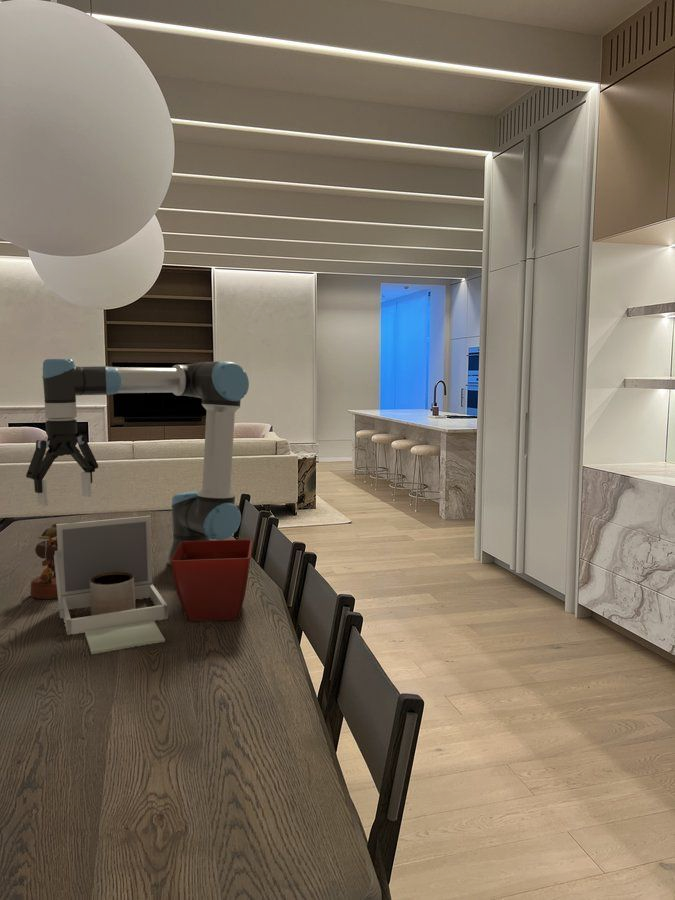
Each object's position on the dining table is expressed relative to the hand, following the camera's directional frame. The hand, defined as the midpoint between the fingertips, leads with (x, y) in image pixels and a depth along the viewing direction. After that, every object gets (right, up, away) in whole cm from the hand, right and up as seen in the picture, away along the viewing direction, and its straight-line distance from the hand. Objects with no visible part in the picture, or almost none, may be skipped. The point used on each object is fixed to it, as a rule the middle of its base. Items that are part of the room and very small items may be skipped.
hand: (65, 500), depth 177 cm
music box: (-9, -27, +13) cm, 31 cm away
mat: (+21, -31, -18) cm, 41 cm away
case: (+14, -29, -3) cm, 32 cm away
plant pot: (+39, -29, -2) cm, 49 cm away
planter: (+14, -29, -3) cm, 32 cm away
